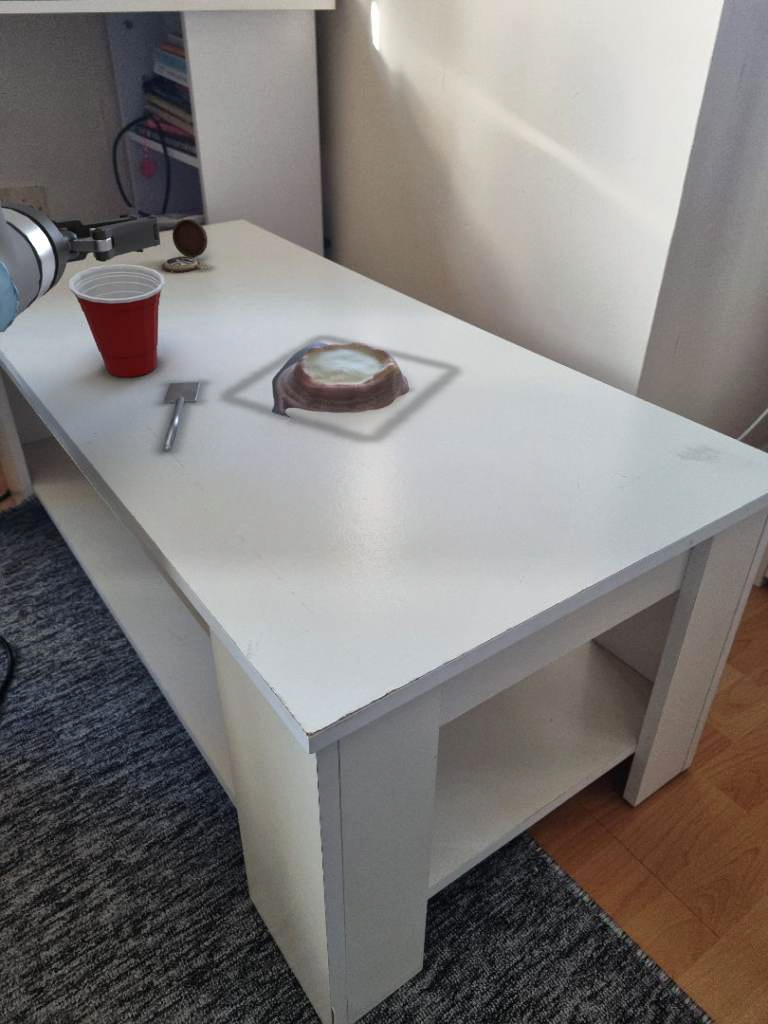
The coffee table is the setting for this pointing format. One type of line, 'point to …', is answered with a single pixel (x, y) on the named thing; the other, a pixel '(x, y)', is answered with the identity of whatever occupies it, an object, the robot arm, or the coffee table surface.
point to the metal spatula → (178, 407)
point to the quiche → (338, 379)
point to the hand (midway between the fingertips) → (67, 222)
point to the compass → (187, 246)
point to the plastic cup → (122, 315)
